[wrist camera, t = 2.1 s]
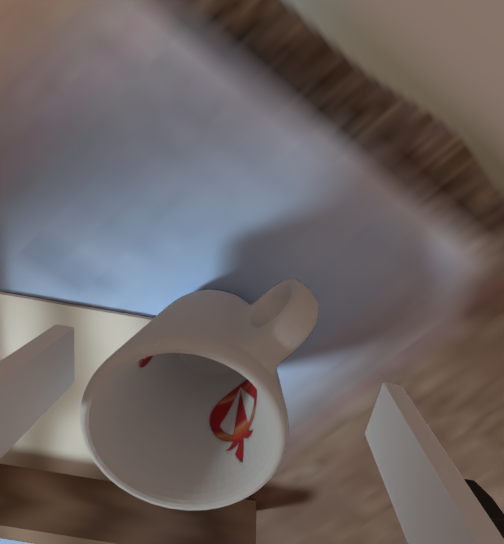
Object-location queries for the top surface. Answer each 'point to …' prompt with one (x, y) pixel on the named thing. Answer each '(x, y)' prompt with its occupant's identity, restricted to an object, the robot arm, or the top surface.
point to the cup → (198, 398)
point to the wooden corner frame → (75, 457)
